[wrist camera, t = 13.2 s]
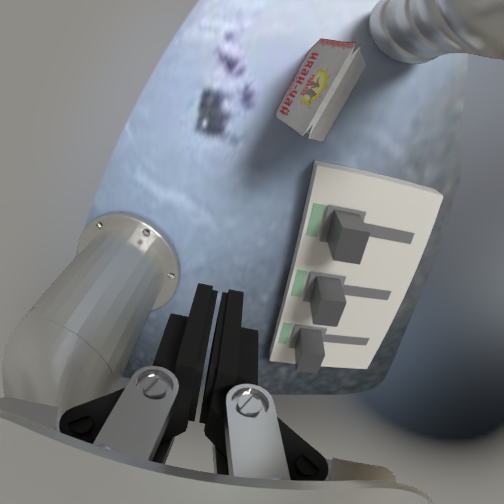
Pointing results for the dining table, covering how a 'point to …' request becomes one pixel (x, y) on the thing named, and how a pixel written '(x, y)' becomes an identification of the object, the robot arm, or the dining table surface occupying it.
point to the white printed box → (321, 87)
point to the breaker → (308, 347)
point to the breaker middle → (325, 298)
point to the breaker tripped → (345, 233)
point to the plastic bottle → (438, 28)
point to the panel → (357, 276)
